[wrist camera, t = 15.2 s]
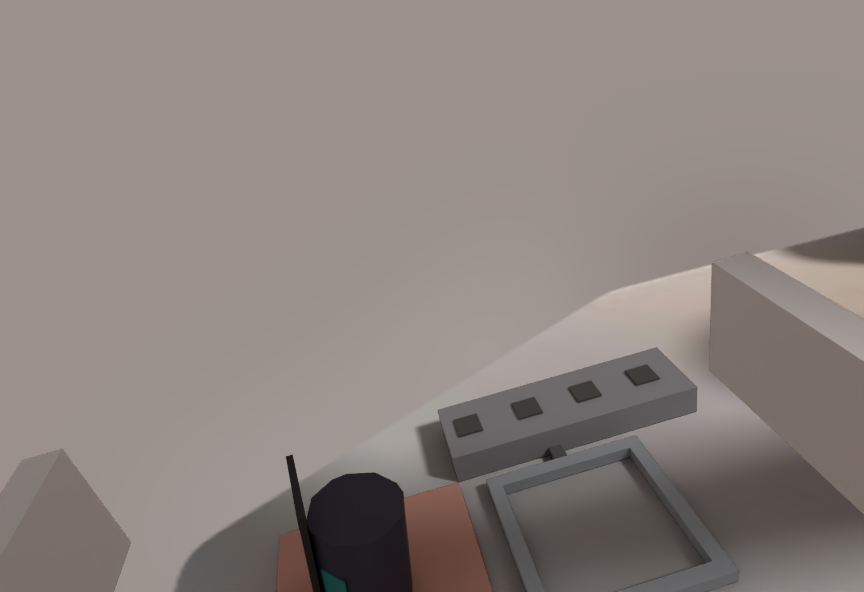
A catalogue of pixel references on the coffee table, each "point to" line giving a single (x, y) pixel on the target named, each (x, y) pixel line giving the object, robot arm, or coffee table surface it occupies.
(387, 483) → the speaker
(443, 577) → the mat
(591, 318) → the coffee table surface
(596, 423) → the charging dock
